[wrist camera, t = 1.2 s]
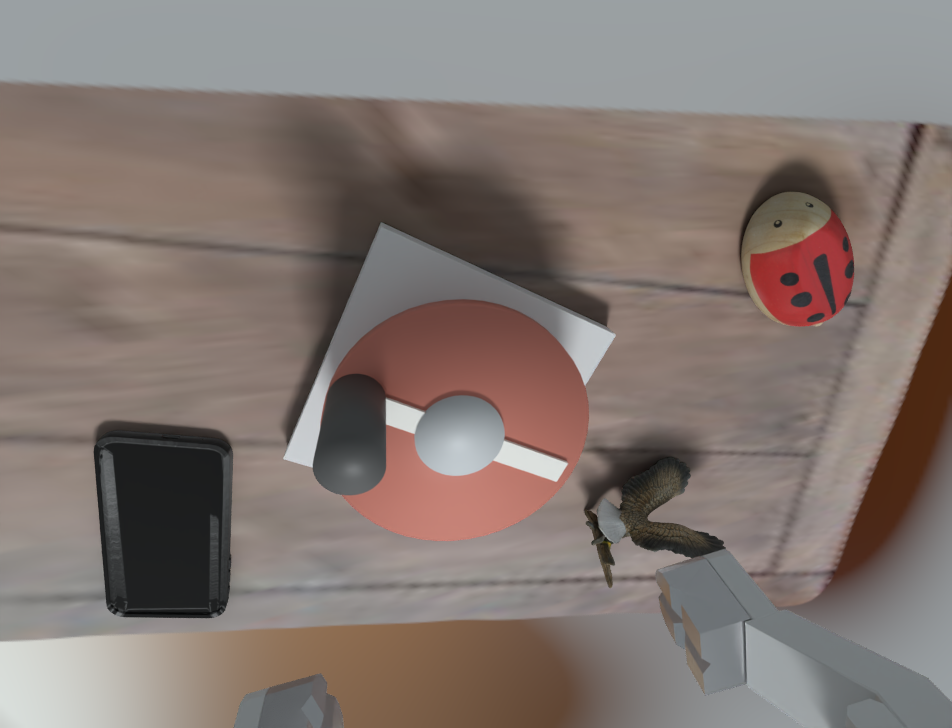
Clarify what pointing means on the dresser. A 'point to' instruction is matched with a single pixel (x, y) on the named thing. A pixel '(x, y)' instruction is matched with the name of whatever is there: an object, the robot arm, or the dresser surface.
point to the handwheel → (452, 421)
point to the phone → (164, 523)
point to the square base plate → (424, 281)
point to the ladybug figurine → (797, 260)
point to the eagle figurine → (634, 510)
